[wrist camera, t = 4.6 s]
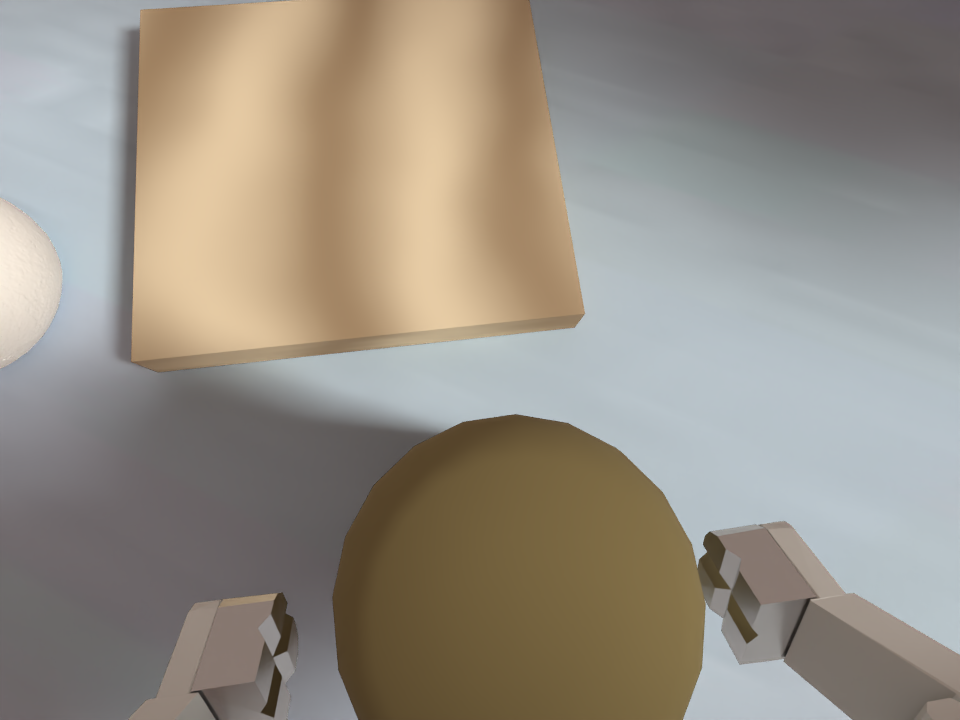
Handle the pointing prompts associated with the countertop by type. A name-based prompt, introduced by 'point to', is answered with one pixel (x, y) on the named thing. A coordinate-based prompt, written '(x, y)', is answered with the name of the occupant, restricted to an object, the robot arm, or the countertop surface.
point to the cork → (517, 583)
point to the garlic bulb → (25, 283)
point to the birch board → (343, 181)
